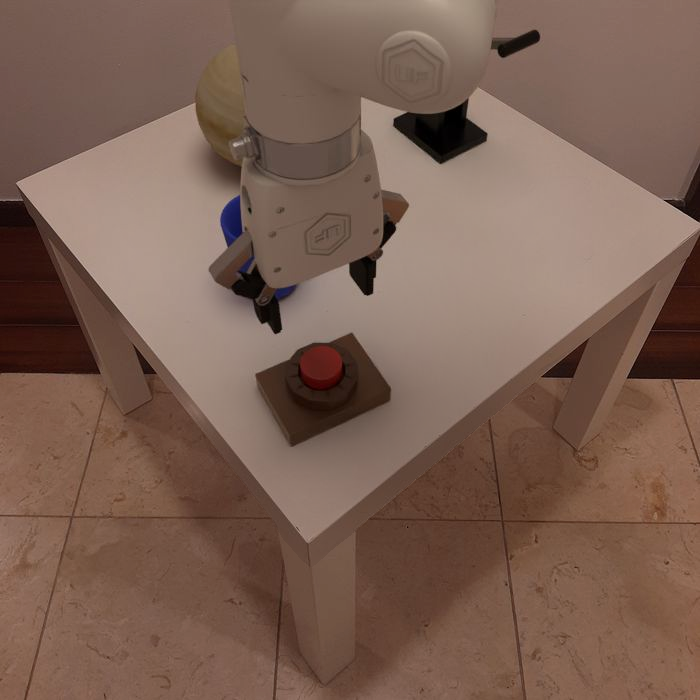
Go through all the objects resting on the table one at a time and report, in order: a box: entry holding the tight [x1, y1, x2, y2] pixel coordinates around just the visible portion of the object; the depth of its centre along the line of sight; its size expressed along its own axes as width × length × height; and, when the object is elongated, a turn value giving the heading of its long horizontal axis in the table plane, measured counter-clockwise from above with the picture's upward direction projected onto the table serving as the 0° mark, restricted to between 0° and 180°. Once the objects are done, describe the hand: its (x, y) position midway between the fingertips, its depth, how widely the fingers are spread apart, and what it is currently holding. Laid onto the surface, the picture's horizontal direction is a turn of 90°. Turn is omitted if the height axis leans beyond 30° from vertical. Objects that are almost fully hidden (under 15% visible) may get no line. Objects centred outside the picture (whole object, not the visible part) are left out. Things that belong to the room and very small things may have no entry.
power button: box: [300, 346, 342, 390], centre depth 71 cm, size 4×4×2 cm
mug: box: [219, 194, 297, 300], centre depth 80 cm, size 8×12×10 cm
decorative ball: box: [194, 43, 246, 167], centre depth 91 cm, size 15×15×15 cm
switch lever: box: [491, 29, 541, 59], centre depth 85 cm, size 14×5×2 cm, turn 36°
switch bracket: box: [392, 97, 489, 165], centre depth 94 cm, size 10×8×15 cm
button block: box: [254, 332, 392, 447], centre depth 73 cm, size 11×8×4 cm
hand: (316, 302), depth 63 cm, fingers open, 8 cm apart
